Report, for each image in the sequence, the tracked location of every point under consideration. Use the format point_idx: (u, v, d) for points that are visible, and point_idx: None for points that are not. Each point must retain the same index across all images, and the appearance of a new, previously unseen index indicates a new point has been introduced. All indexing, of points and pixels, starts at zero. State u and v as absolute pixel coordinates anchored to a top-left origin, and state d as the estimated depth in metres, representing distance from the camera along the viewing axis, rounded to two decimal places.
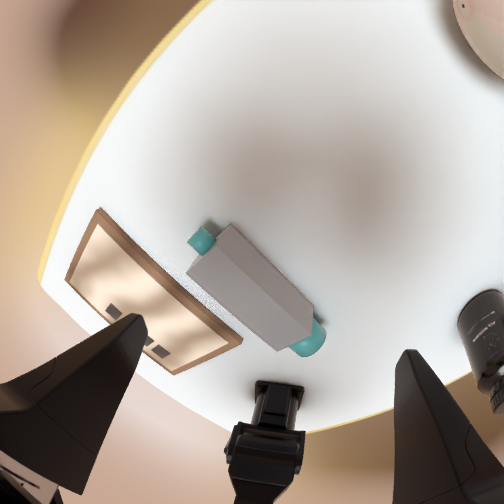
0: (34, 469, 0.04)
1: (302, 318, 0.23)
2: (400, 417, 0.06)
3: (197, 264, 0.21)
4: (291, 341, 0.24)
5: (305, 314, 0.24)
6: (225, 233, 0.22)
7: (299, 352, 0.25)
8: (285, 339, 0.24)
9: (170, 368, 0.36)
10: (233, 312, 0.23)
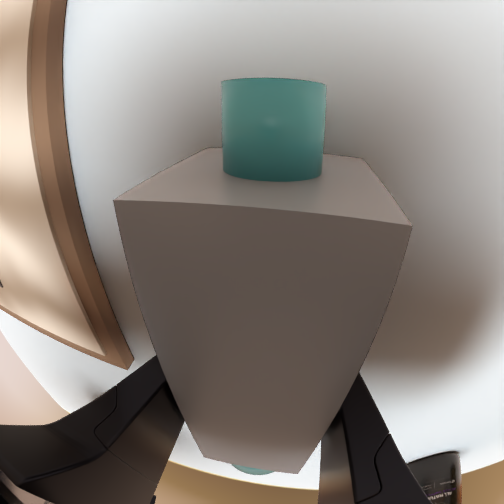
0: None
1: None
2: None
3: (211, 212, 0.03)
4: (250, 465, 0.09)
5: None
6: None
7: (240, 467, 0.10)
8: (244, 461, 0.09)
9: None
10: (182, 398, 0.06)
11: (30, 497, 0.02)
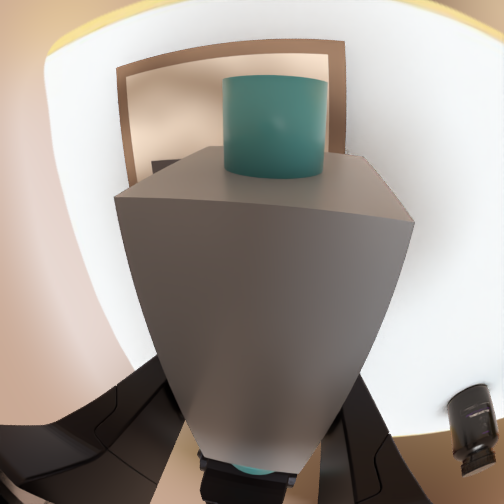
0: None
1: None
2: None
3: (212, 209, 0.03)
4: (251, 465, 0.09)
5: None
6: None
7: (241, 467, 0.10)
8: (244, 461, 0.08)
9: None
10: (183, 397, 0.06)
11: (30, 497, 0.02)
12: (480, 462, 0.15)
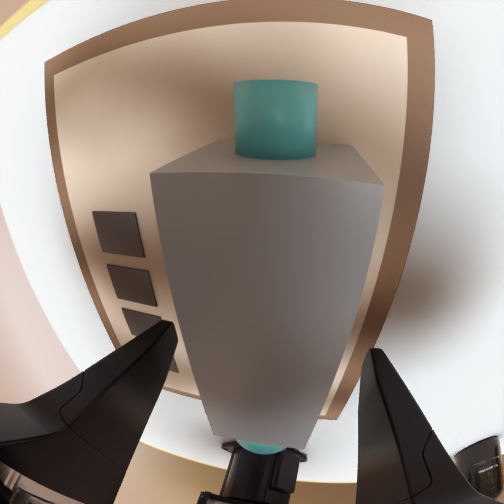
0: (64, 493, 0.03)
1: None
2: (363, 418, 0.07)
3: (230, 179, 0.04)
4: (258, 440, 0.10)
5: None
6: None
7: (248, 446, 0.11)
8: (252, 435, 0.10)
9: None
10: (197, 361, 0.07)
11: (1, 468, 0.02)
12: None
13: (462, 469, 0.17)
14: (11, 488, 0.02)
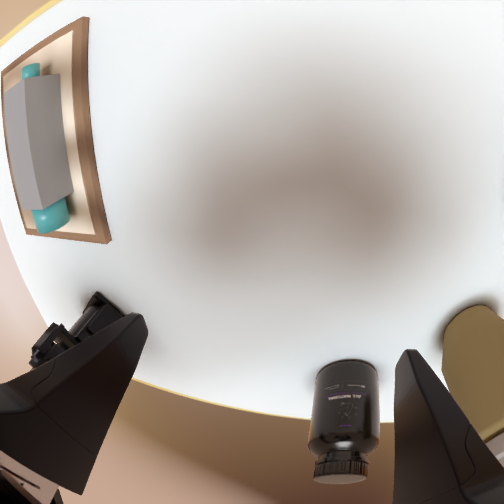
0: (34, 469, 0.04)
1: (45, 189, 0.17)
2: (400, 417, 0.06)
3: (10, 89, 0.12)
4: (30, 205, 0.17)
5: (54, 189, 0.18)
6: (44, 76, 0.14)
7: (35, 224, 0.19)
8: (27, 200, 0.17)
9: (27, 224, 0.25)
10: (9, 147, 0.15)
11: None
12: (332, 467, 0.16)
13: (315, 394, 0.25)
14: None
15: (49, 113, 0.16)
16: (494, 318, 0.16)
